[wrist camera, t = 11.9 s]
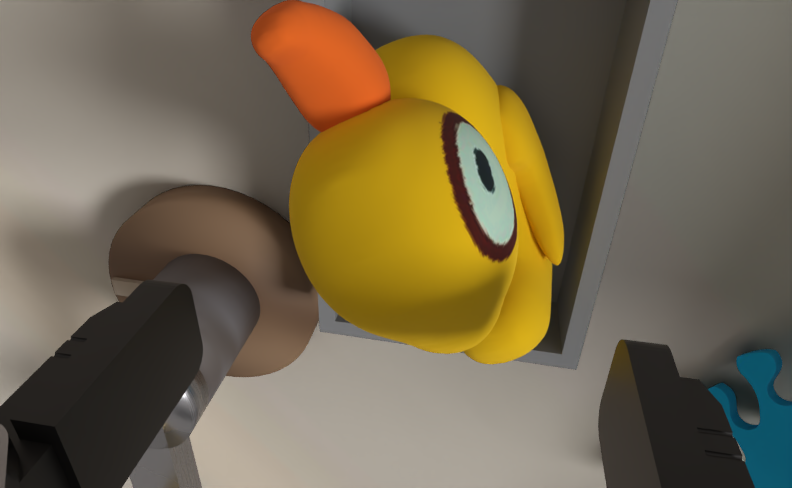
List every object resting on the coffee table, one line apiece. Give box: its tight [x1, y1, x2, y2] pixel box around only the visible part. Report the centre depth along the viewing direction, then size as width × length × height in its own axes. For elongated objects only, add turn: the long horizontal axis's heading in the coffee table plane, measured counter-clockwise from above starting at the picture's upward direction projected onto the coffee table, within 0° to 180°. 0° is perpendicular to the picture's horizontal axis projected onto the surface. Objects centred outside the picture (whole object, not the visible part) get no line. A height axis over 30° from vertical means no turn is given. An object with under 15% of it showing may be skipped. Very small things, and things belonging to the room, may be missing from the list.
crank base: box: [109, 185, 319, 406], centre depth 23 cm, size 9×9×6 cm
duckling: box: [251, 0, 564, 364], centre depth 15 cm, size 11×5×10 cm, turn 28°
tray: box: [302, 0, 678, 370], centre depth 18 cm, size 14×9×4 cm, turn 179°
